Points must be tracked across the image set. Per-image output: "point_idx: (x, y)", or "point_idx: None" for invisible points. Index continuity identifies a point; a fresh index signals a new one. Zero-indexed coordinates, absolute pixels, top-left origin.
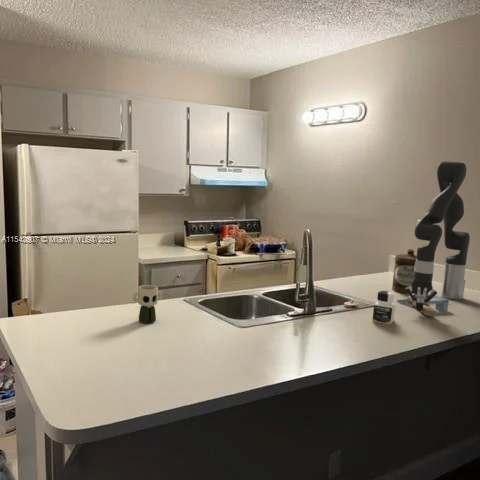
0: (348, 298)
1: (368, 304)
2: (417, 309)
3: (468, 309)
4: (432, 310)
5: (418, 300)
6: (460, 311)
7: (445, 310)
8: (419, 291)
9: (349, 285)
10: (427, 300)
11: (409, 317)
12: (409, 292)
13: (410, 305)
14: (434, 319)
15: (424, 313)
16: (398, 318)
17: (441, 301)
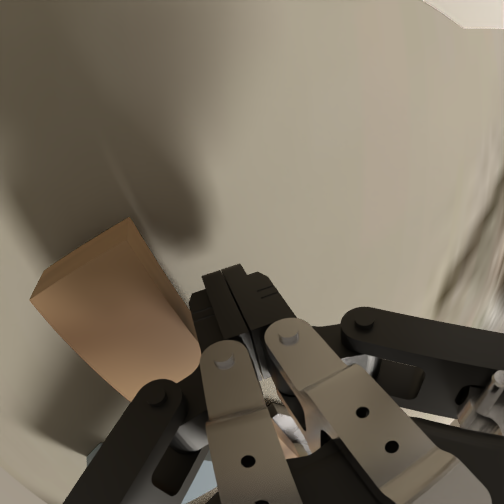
0: (496, 299)
1: (470, 276)
2: (244, 273)
3: (51, 493)
4: (69, 299)
5: (293, 344)
6: (49, 472)
7: (91, 456)
8: (395, 473)
9: (438, 421)
10: (151, 402)
11: (286, 122)
12: (492, 347)
13: (288, 413)
14: (52, 227)
15: (156, 262)
16: (365, 41)
17: None
